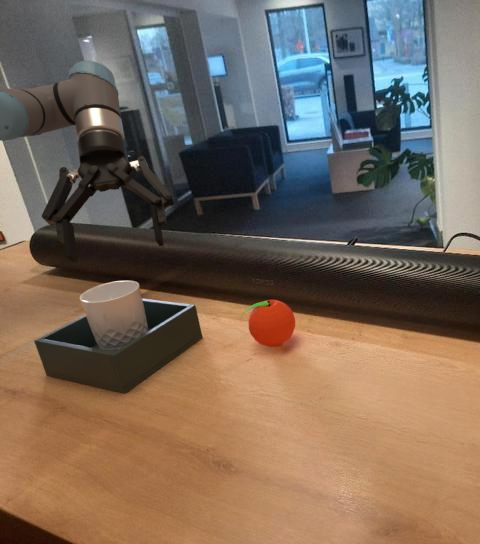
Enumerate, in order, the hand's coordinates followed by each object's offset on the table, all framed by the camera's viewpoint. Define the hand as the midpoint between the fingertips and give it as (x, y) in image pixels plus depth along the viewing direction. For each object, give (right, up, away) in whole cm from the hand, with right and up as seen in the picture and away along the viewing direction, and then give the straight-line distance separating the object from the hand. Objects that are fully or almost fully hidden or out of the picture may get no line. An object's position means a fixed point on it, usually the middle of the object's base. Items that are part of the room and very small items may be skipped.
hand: (116, 250), depth 81 cm
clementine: (+27, -15, -6) cm, 31 cm away
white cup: (+5, -16, -6) cm, 17 cm away
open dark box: (+5, -16, -6) cm, 18 cm away
